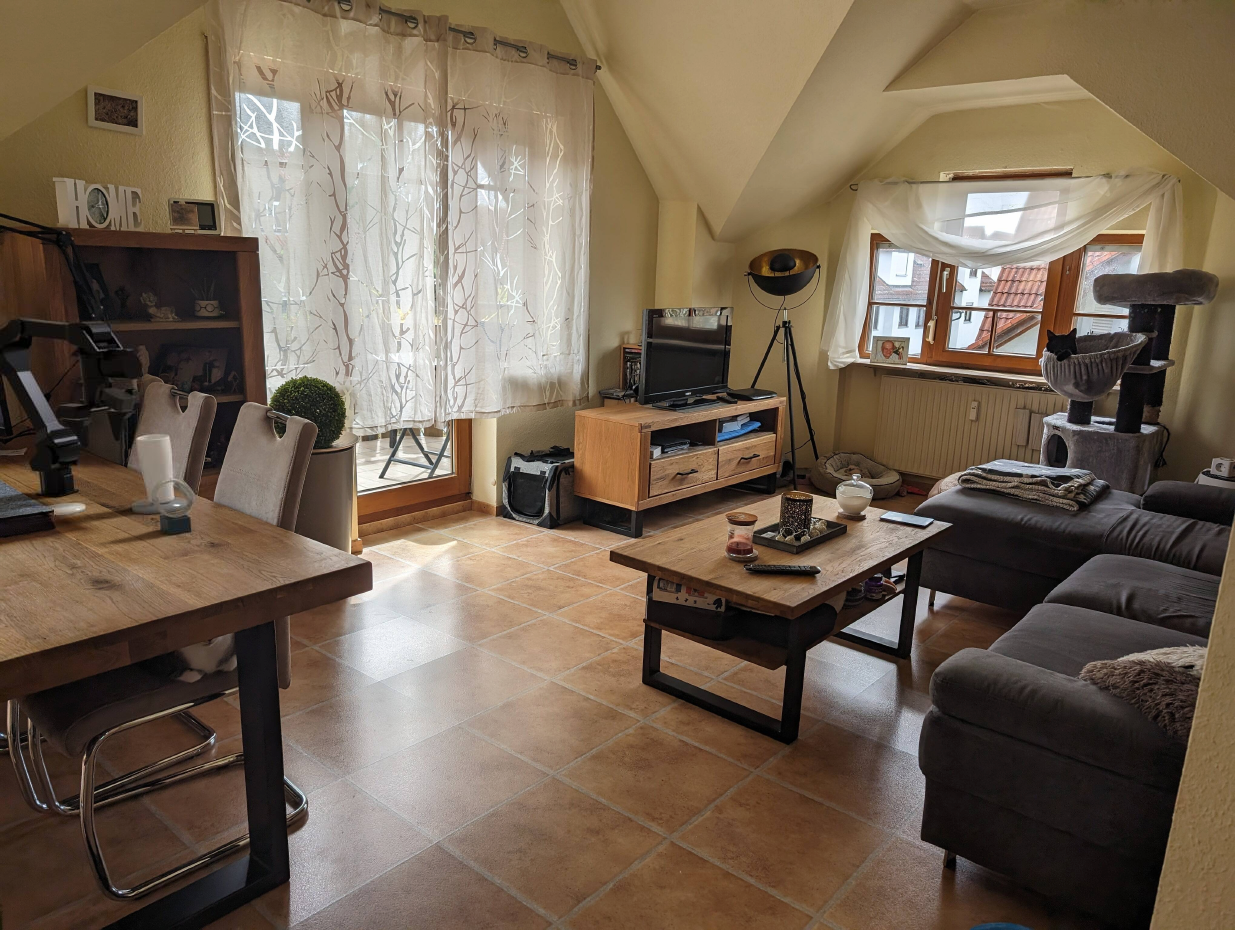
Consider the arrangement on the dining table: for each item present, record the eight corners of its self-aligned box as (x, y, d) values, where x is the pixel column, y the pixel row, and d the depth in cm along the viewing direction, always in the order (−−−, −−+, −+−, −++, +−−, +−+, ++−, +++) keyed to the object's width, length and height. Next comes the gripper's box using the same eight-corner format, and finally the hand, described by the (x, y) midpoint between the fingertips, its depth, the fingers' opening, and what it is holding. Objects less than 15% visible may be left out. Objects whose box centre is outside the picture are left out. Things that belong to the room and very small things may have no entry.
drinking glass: (177, 495, 202) (168, 432, 199) (179, 502, 196) (170, 438, 193) (144, 499, 199) (135, 436, 195) (145, 507, 193) (136, 441, 190)
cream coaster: (33, 513, 189) (33, 510, 189) (64, 504, 197) (64, 501, 197) (64, 516, 188) (64, 513, 188) (94, 508, 195) (93, 504, 195)
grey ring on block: (201, 530, 181) (197, 479, 179) (159, 536, 176) (155, 484, 174) (192, 524, 185) (188, 474, 183) (151, 530, 180) (147, 479, 178)
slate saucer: (120, 511, 193) (120, 506, 193) (156, 500, 204) (156, 495, 203) (162, 515, 191) (162, 510, 191) (197, 504, 201) (197, 499, 201)
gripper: (92, 383, 187) (99, 453, 191) (156, 375, 205) (161, 440, 208) (50, 380, 190) (57, 450, 193) (116, 372, 208) (122, 436, 211)
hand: (102, 444), depth 201 cm, fingers open, 9 cm apart
